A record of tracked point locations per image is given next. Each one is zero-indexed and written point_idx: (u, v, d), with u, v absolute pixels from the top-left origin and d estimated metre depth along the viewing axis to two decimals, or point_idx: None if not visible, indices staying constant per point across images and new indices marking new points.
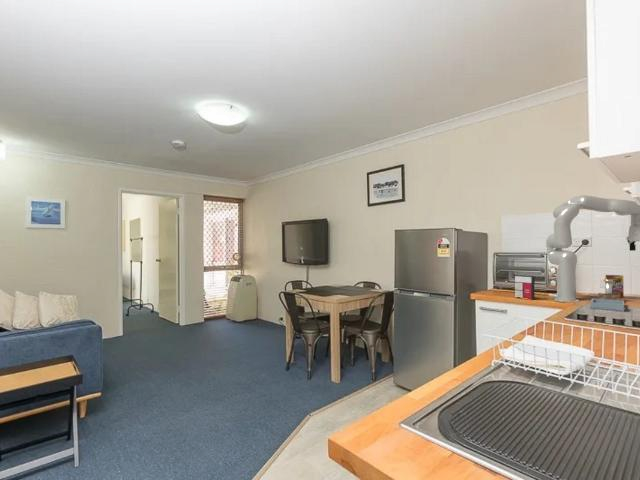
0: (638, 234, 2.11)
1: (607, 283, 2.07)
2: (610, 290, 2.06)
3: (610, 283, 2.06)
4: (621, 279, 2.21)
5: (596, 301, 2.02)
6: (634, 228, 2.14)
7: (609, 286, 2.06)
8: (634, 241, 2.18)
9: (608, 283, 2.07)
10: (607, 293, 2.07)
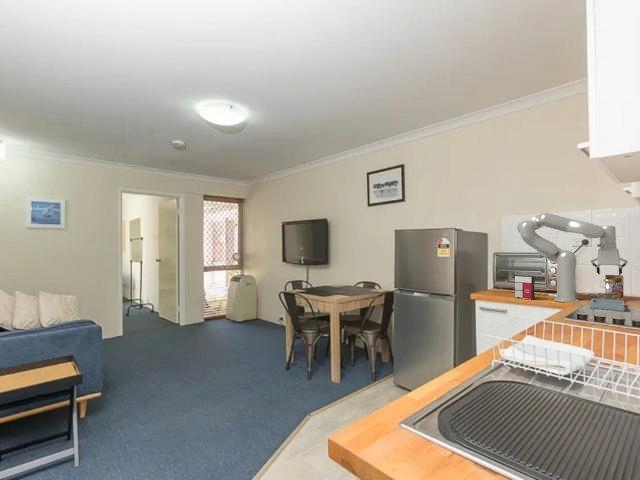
0: (614, 258, 2.04)
1: (607, 283, 2.07)
2: (610, 290, 2.06)
3: (610, 283, 2.06)
4: (621, 279, 2.21)
5: (596, 301, 2.02)
6: (608, 251, 2.06)
7: (609, 286, 2.06)
8: (599, 264, 2.11)
9: (608, 283, 2.07)
10: (607, 293, 2.07)
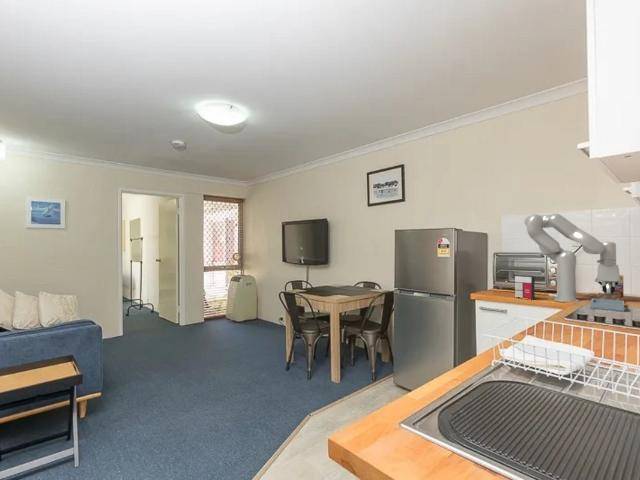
0: (613, 274, 2.04)
1: (607, 283, 2.07)
2: (610, 290, 2.06)
3: (610, 283, 2.06)
4: (621, 279, 2.21)
5: (596, 301, 2.02)
6: (607, 267, 2.06)
7: (609, 286, 2.06)
8: None
9: (608, 283, 2.07)
10: (607, 293, 2.07)
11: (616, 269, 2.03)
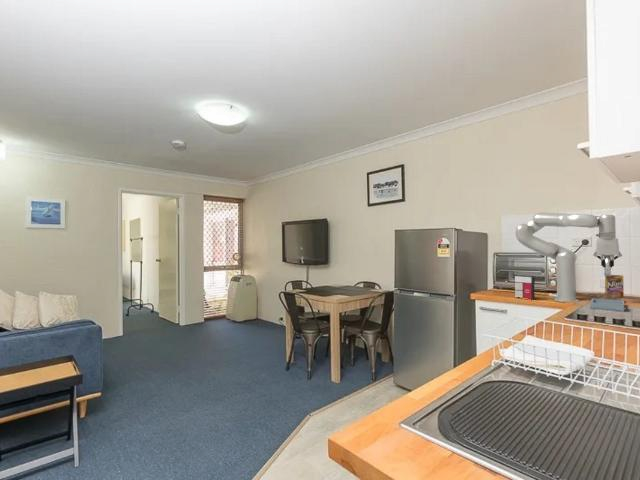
0: (613, 248, 1.98)
1: (606, 257, 2.01)
2: (609, 265, 2.00)
3: (609, 257, 2.01)
4: (621, 279, 2.21)
5: (596, 301, 2.02)
6: (607, 241, 2.00)
7: (608, 260, 2.01)
8: None
9: (607, 257, 2.01)
10: (606, 267, 2.01)
11: (616, 242, 1.98)
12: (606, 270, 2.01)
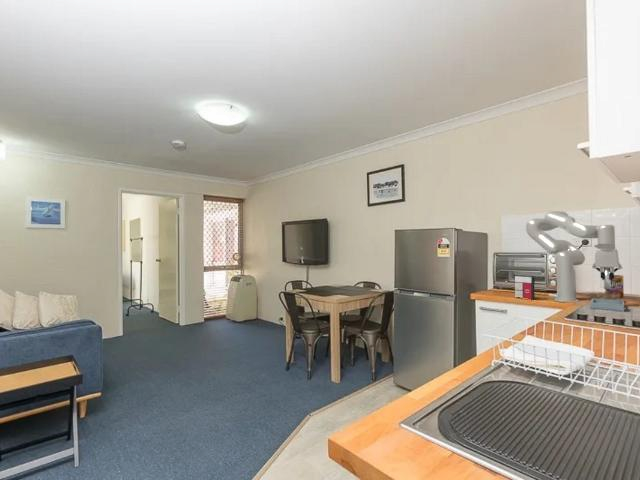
0: (612, 259, 1.89)
1: (605, 269, 1.92)
2: (608, 277, 1.91)
3: (609, 269, 1.91)
4: (621, 279, 2.21)
5: (596, 301, 2.02)
6: (606, 252, 1.91)
7: (608, 272, 1.91)
8: None
9: (607, 269, 1.92)
10: (606, 280, 1.92)
11: (615, 254, 1.88)
12: (606, 283, 1.92)
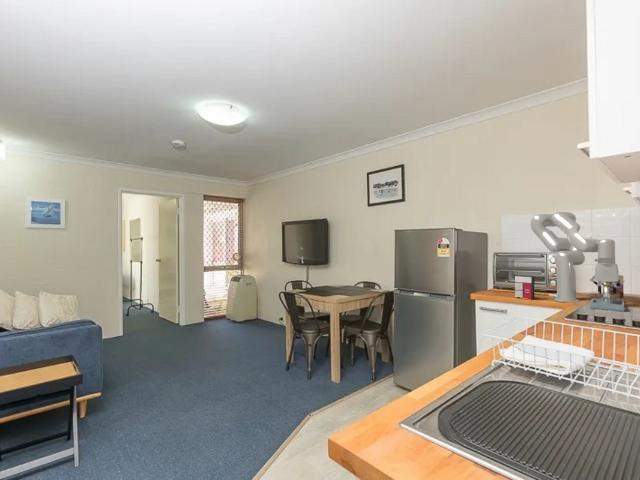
0: (612, 274, 1.89)
1: (605, 287, 1.92)
2: (608, 295, 1.91)
3: (608, 287, 1.91)
4: None
5: (596, 301, 2.02)
6: (606, 267, 1.91)
7: (607, 290, 1.92)
8: None
9: (606, 287, 1.92)
10: (605, 297, 1.92)
11: (615, 268, 1.88)
12: (605, 300, 1.92)
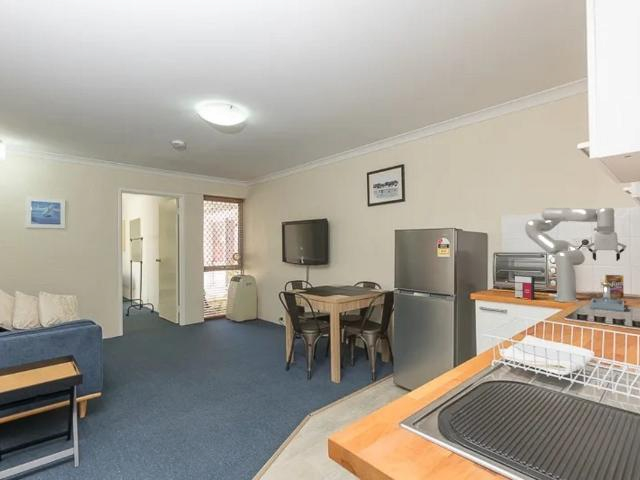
0: (611, 242, 1.90)
1: (605, 287, 1.92)
2: (608, 295, 1.91)
3: (608, 287, 1.92)
4: (621, 279, 2.21)
5: (596, 301, 2.02)
6: (605, 235, 1.91)
7: (607, 290, 1.92)
8: None
9: (606, 287, 1.92)
10: (605, 297, 1.92)
11: (614, 236, 1.89)
12: (605, 300, 1.92)
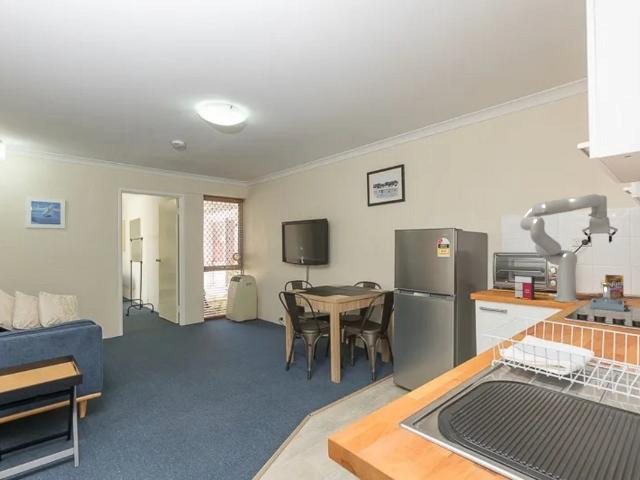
0: (604, 226, 2.11)
1: (605, 287, 1.92)
2: (608, 295, 1.91)
3: (608, 287, 1.92)
4: (621, 279, 2.21)
5: (596, 301, 2.02)
6: (599, 220, 2.13)
7: (607, 290, 1.92)
8: (590, 233, 2.19)
9: (606, 287, 1.92)
10: (605, 297, 1.92)
11: (607, 221, 2.11)
12: (605, 300, 1.92)
